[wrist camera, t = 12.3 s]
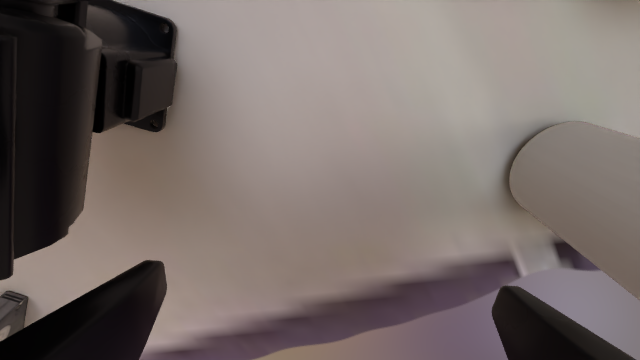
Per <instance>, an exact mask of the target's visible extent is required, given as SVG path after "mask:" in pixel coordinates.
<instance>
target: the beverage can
mask: <svg viewBox="0 0 640 360" xmlns="http://www.w3.org/2000/svg"><path fill="white" fill-rule="evenodd" d="M509 184H510V189H511V192H512V195H513V197H514V199H515V200H516V201H517V203H518V204H519V205H521V206H522V207H523V208H524V209H525V210H527V211H528V212H529V213H530V214H532V215H533V216H534V217H535V218H537V219H538V220H539V221H540V222H542V223H543V224H544V225H545V226H547V227H548V228H549V229H551V230H552V231H553V232H554V233H556V234H557V235H558V236H559V237H561V238H562V239H563V240H564V241H566V242H567V243H568V244H569V245H571V246H572V247H573V248H574V249H576V250H577V251H578V252H579V253H581V254H582V255H583V256H584V257H586V258H587V259H588V260H589V261H591V262H592V263H593V264H594V265H596V266H597V267H598V268H599V269H601V270H602V271H603V272H605V273H606V274H607V275H608V276H609V277H611V278H612V279H613V280H615V281H616V282H617V283H618V284H620V285H621V286H622V287H623V288H625V289H626V290H627V291H628V292H630V293H631V294H632V295H633V296H635V297H636V298H637V299H638V300H640V138H638V137H634V136H631V135H628V134H624V133H621V132H617V131H614V130H611V129H607V128H604V127H601V126H597V125H594V124H590V123H586V122H578V121H575V122H565V123H561V124H557V125H554V126H551V127H549V128H547V129H545V130H543V131H542V132H540V133H539V134H537V135H536V136H534V137H533V138H532V139H531V140H530V141H529V142H528V143H527V144H526V145H525V146H524V147H523V148H522V149H521V150H520V152H519V153H518V155H517V157H516V158H515V160H514V162H513V165H512V168H511V171H510V178H509Z"/></svg>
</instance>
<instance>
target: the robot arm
mask: <svg viewBox="0 0 640 360" xmlns="http://www.w3.org/2000/svg"><path fill="white" fill-rule="evenodd" d="M164 24H167V25H168V27H169V31H168V32H167V33H165V32H164V30H163V25H164ZM176 32H177V31H176V26H175V24H174V22H173V21H172V20H170V19H168V18H165V17H162V16H159V15H156V14H153V13H150V12H146V11H143V10H140V9H137V8H134V7H131V6H128V5H125V4H122V3H119V2H116V1H113V0H0V280H3V279H7V278H10V277H11V276H12V275H13V264H14V259H17V258H19V257H22V256H24V255H27V254H30V253H32V252H35V251H37V250H40V249H42V248H45V247H48V246H50V245H52V244H53V243H55V242H57V241H58V240H60V239H62V238H63V237H65V236H66V235H67V234H68V229H69V226H71V225H72V224H73V223H74V221H75V220H76V219H77V217H78V216H79V215H80V213H81V212H82V211H83V208H84V200H85V191H86V182H87V174H88V165H89V157H90V148H91V139H92V132H95V133H101V132H104V131H106V130H108V129H111V128H113V127H116V126H118V125H120V124H127V125H130V126H134V127H137V128H141V129H145V130H148V131H152V132H159V131H161V130H163V129H164V127H165V123H166V115H167V107H169V106H171V105H172V101H173V93H174V85H175V77H176V69H177V63H176V61H175V60H174V59H173V57H174V48H175V40H176ZM153 120H155V121H157V123H158V127H156V126H155V125H154V124H153ZM166 290H167V283H166V275H165V267H164V264H163V262H161V261H154V260H146V261H143V262H141V263H140V264H138V265H136V266H134V267H132V268H131V269H129V270H127V271H125V272H123V273H122V274H120V275H118V276H116V277H115V278H113V279H111V280H109V281H107V282H106V283H104V284H102V285H100V286H98V287H97V288H95V289H93V290H91V291H89V292H88V293H86V294H84V295H82V296H81V297H79V298H77V299H75V300H73V301H72V302H70V303H68V304H66V305H64V306H63V307H61V308H59V309H57V310H55V311H54V312H52V313H50V314H48V315H47V316H45V317H43V318H41V319H39V320H38V321H36V322H34V323H32V324H30V325H29V326H27V327H25V328H23V329H21V330H20V331H18V332H16V333H14V334H13V335H11V336H9V337H7V338H5V339H4V340H2V341H0V360H139V358H140V356H141V354H142V352H143V349H144V347H145V345H146V342H147V340H148V337H149V335H150V332H151V330H152V327H153V325H154V322H155V320H156V317H157V315H158V312H159V310H160V307H161V305H162V302H163V300H164V297H165V295H166ZM492 316H493V320H494V323H495V325H496V328H497V331H498V333H499V336H500V339H501V341H502V344H503V347H504V350H505V352H506V355H507V358H508V360H635V359H634V358H633V357H631V356H629V355H628V354H626V353H625V352H623V351H621V350H620V349H618V348H617V347H615V346H613V345H612V344H610V343H608V342H607V341H605V340H603V339H602V338H600V337H599V336H597V335H595V334H594V333H592V332H591V331H589V330H588V329H586V328H585V327H583V326H581V325H580V324H578V323H576V322H575V321H573V320H572V319H570V318H568V317H567V316H565V315H564V314H562V313H561V312H559V311H557V310H555V309H554V308H553V307H551V306H549V305H548V304H546V303H545V302H543V301H541V300H540V299H538V298H537V297H535V296H533V295H532V294H530V293H529V292H527V291H525V290H524V289H522V288H520V287H518V286H502V287H501V288H500V290H499V292H498V295H497V297H496V300H495V303H494V305H493V307H492Z"/></svg>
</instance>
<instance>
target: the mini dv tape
mask: <svg viewBox="0 0 640 360" xmlns="http://www.w3.org/2000/svg"><path fill="white" fill-rule="evenodd" d="M27 301H28V297H25V296H22V295H19V294H16V293H12V292H9V291H6V292H5V293H4V294H2V295H1V296H0V341H2V340H4V339H5V338H7V337H9V336H11V335H13V334H14V333H16V332H18V331H20V330H21V329H23V327H24V321H25V314H26V308H27Z"/></svg>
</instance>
